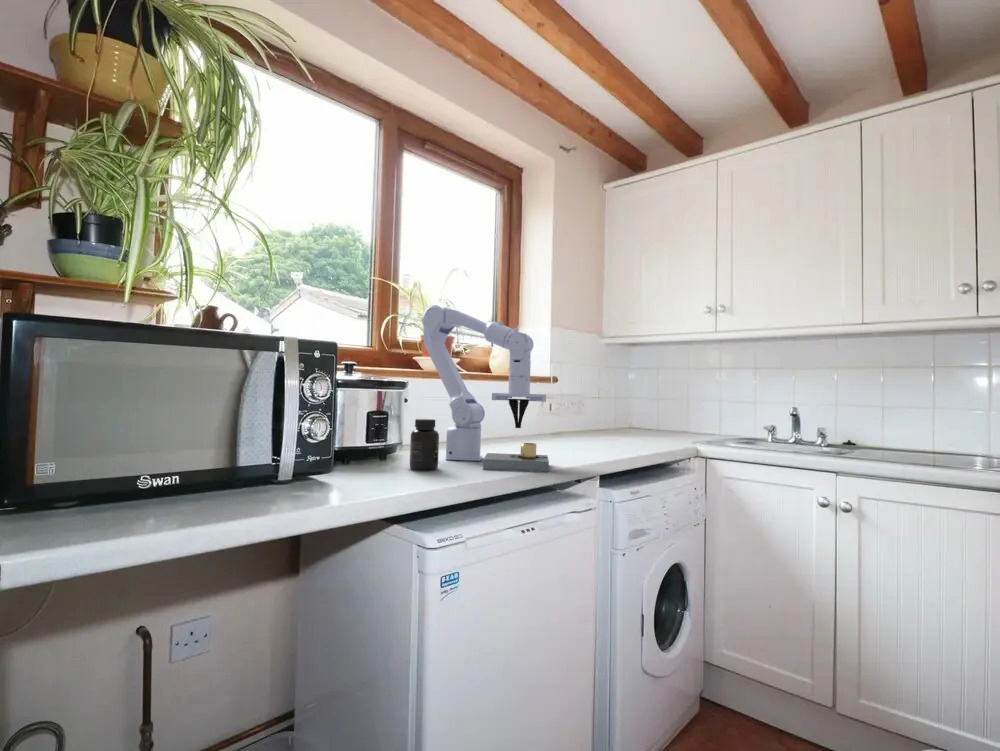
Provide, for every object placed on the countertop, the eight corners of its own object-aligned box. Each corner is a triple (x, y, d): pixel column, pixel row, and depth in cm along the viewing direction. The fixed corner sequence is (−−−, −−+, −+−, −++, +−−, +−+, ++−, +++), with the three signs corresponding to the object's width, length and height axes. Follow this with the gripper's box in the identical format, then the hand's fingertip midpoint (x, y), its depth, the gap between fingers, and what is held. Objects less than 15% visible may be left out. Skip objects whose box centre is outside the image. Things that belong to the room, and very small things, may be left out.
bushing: (519, 467, 132) (519, 444, 133) (521, 465, 136) (521, 442, 136) (534, 468, 132) (535, 444, 132) (536, 466, 136) (537, 443, 136)
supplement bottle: (442, 470, 125) (444, 420, 125) (415, 472, 121) (417, 420, 121) (431, 466, 131) (433, 418, 131) (405, 467, 127) (407, 418, 127)
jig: (482, 469, 128) (483, 459, 128) (487, 462, 140) (487, 453, 140) (548, 471, 127) (548, 461, 127) (547, 464, 139) (547, 455, 139)
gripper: (491, 376, 137) (490, 428, 137) (546, 377, 137) (545, 430, 136) (493, 376, 144) (492, 426, 144) (546, 378, 144) (544, 427, 143)
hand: (518, 427), depth 141 cm, fingers closed
